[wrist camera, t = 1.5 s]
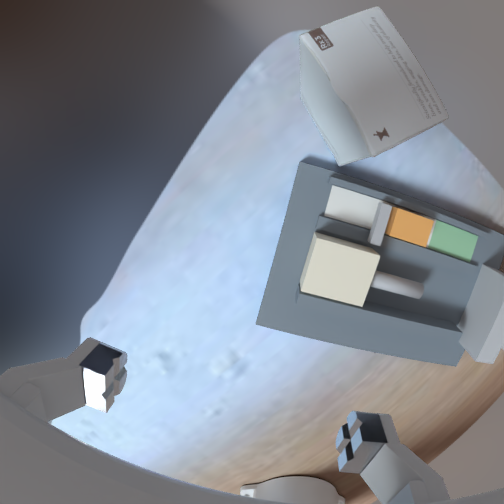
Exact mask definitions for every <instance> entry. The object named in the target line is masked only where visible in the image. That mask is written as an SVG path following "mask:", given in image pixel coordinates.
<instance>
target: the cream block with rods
mask: <svg viewBox="0 0 504 504" xmlns="http://www.w3.org/2000/svg"><path fill="white" fill-rule="evenodd" d="M391 209H392V206H390V205H387V204H384V203H381V202H379V203H378V207H377V210H376V214H375V217H374V220H373V224H372V227H371V230H370V234H369V237H368V240H367V241H368V242H370V243H371V244H374V245H378V246H380V245H381V242H382V239H383V236H384V233H385V229H386V226H387V223H388V219H389V216H390V213H391ZM379 259H380V255H379V254H378V253H377V252H376V251H375V250H374V249H373V248H370V247H366V246H363V245H359V244H356V243H353V242H349V241H346V240H342V239H339V238H335V237H332V236H328V235H324V234H321V233H317V232H314V235H313V238H312V242H311V245H310V248H309V252H308V255H307V259H306V262H305V265H304V269H303V272H302V275H301V278H300V287H301V291H302V292H306V293H310V294H314V295H318V296H322V297H325V298H329V299H333V300H337V301H341V302H345V303H349V304H353V305H357V306H361V307H362V306H363V304H364V301H365V298H366V296H367V293H368V290H369V287H370V286H371V287H375V288H379V289H382V290H386V291H390V292H394V293H397V294H401V295H405V296H409V297H413V298H416V299H420V298H421V296H422V295H423V292H424V285H423V284H422V283H419V282H416V281H412V280H409V279H405V278H401V277H398V276H394V275H391V274H387V273H384V272H380V271H377V270H376V268H377V265H378V262H379Z"/></svg>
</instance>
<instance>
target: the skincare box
mask: <svg viewBox="0 0 504 504" xmlns="http://www.w3.org/2000/svg"><path fill="white" fill-rule="evenodd" d="M299 48H300V85H301V97H300V98H301V100H302V102H303V104H304V106H305V108H306V109H307V111H308V113H309V115H310V116H311V118H312V120H313V122H314V123H315V125H316V127H317V128H318V130H319V132H320V134H321V135H322V137H323V139H324V141H325V142H326V144H327V146H328V147H329V149H330V150H331V152H332V154H333V156H334V158H335V160H336V162H337V164H338V166H343V165H346V164H349V163H352V162H355V161H358V160H362V159H365V158H368V157H375V156H377V155H379V154H381V153H383V152H385V151H387V150H389V149H391V148H393V147H395V146H397V145H399V144H401V143H403V142H405V141H407V140H409V139H411V138H413V137H415V136H416V135H418V134H420V133H422V132H424V131H426V130H428V129H430V128H432V127H434V126H436V125H437V124H439V123H441V122H443V121H444V120H446V119H448V118H449V115H448V113H447V112H446V109H445V107H444V105H443V104H442V102H441V100H440V98H439V96H438V94H437V92H436V91H435V89H434V87H433V85H432V84H431V82H430V80H429V78H428V77H427V75H426V73H425V72H424V70H423V68H422V67H421V65H420V64H419V62H418V60H417V59H416V57H415V56H414V54H413V53H412V51H411V50H410V48H409V47H408V45H407V44H406V42H405V41H404V39H403V38H402V37H401V35H400V34H399V33H398V31H397V30H396V28H395V27H394V25H393V24H392V23H391V21H390V20H389V19H388V18H387V16H386V15H385V14H384V13H383V11H382V10H381V9H380V7H374V8H370V9H367V10H364V11H361V12H358V13H355V14H353V15H350V16H347V17H345V18H342V19H339V20H337V21H334V22H332V23H329V24H326V25H324V26H321V27H319V28H316V29H314V30H311V31H309V32H306V33H303V34H301V35H299Z"/></svg>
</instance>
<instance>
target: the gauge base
mask: <svg viewBox="0 0 504 504" xmlns="http://www.w3.org/2000/svg"><path fill="white" fill-rule="evenodd" d="M379 202H381V203H384V204H387V205H390V206H393V207H396V208H399V209H402V210H405V211H408V212H411V213H413V214H416V215H419V216H422V217H425V218H427V219H430V220H433V221H434V223H433V226H432V229H431V233H430V236H429V239H428V242H427V245H426V247H423V246H420V245H417V244H414V243H411V242H408V241H405V240H402V239H399V238H396V237H392V236H389V235H388V234H386V233H384V236H383V239H382V242H381V245H380V246H378V245H374V244H371V243H370V242H368V241H367V240H368V237H369V234H370V230H371V227H372V224H373V220H374V217H375V214H376V210H377V207H378V203H379ZM314 232H317V233H321V234H324V235H328V236H332V237H335V238H339V239H342V240H346V241H349V242H353V243H356V244H359V245H363V246H366V247H370V248H373V249H374V250H375V251H376V252H377V253H378V254H379V255H380V259H379V262H378V265H377V268H376V270H377V271H380V272H384V273H387V274H391V275H394V276H398V277H401V278H405V279H409V280H412V281H416V282H419V283H422V284H423V285H424V292H423V295H422V296H421V298H420V299H416V298H413V297H409V296H405V295H401V294H397V293H394V292H390V291H386V290H382V289H379V288H375V287H371V286H370V287H369V290H368V293H367V296H366V298H365V301H364V304H363V306H362V307H361V306H357V305H353V304H349V303H345V302H341V301H337V300H333V299H329V298H325V297H322V296H318V295H314V294H310V293H306V292H302V291H301V287H300V278H301V275H302V272H303V269H304V265H305V262H306V259H307V255H308V252H309V248H310V245H311V242H312V238H313V235H314ZM503 257H504V235H503V234H500V233H498V232H496V231H494V230H492V229H489V228H487V227H485V226H483V225H480V224H478V223H476V222H473V221H471V220H469V219H466V218H464V217H462V216H459V215H457V214H454V213H452V212H449V211H447V210H445V209H442V208H439V207H437V206H434V205H432V204H429V203H427V202H424V201H421V200H419V199H416V198H413V197H410V196H408V195H405V194H402V193H399V192H396V191H394V190H391V189H388V188H385V187H382V186H379V185H376V184H373V183H370V182H367V181H364V180H361V179H357V178H354V177H351V176H348V175H345V174H341V173H338V172H335V171H331V170H328V169H324V168H321V167H317V166H314V165H310V164H307V163H303V162H299V166H298V170H297V174H296V177H295V181H294V185H293V189H292V193H291V197H290V200H289V204H288V208H287V212H286V216H285V219H284V223H283V227H282V230H281V234H280V238H279V242H278V245H277V249H276V253H275V256H274V260H273V264H272V267H271V271H270V274H269V278H268V282H267V285H266V289H265V292H264V296H263V299H262V303H261V307H260V310H259V314H258V317H257V321H256V325H260V326H264V327H267V328H271V329H275V330H279V331H283V332H287V333H291V334H295V335H299V336H303V337H308V338H312V339H316V340H320V341H325V342H329V343H333V344H338V345H342V346H347V347H352V348H356V349H361V350H366V351H371V352H376V353H381V354H386V355H391V356H397V357H402V358H407V359H413V360H419V361H425V362H431V363H437V364H443V365H450V366H457V364H458V362H459V360H460V358H461V356H462V354H463V353H464V351H465V350H466V351H467V352H468V353H469V354H470V356H471V357H472V358H473V359H474V360H475V361H476V362H483V363H490V364H493V363H494V361H495V359H496V357H497V355H498V353H499V351H500V350H501V348H502V346H503V344H504V273H503V272H501V271H499V269H500V266H501V263H502V260H503Z"/></svg>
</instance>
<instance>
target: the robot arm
mask: <svg viewBox="0 0 504 504" xmlns="http://www.w3.org/2000/svg"><path fill="white" fill-rule="evenodd" d="M126 362H127V353H126V352H124V351H122V350H119V349H117V348H114V347H112V346H110V345H107V344H105V343H103V342H100V341H98V340H95V339H93V338H91V337H90V338H87V339H86V340H85V341H84V342H83V343H82V344H81V345H80V346H79V347H78V348H77V349H76V350H75V351H74V352H72V354H70V355H69V356H68V357H67V358H66V359H65V358H58V359H53V360H48V361H44V362H39V363H34V364H29V365H24V366H19V367H14V368H9V369H8V370H7V371H6V372H5V373H4V374H2V375H1V376H0V504H345V498H343V497H342V496H340V495H338V493H337V491H336V489H335V487H334V486H333V485H332V484H330V483H329V482H327V481H324V480H321V479H318V478H313V477H304V476H291V477H281V478H276V479H272V480H269V481H266V482H263V483H260V484H254V485H245V486H242V487H241V488H240V495H236V494H232V493H227V492H223V491H218V490H214V489H210V488H206V487H202V486H199V485H195V484H191V483H188V482H184V481H181V480H178V479H175V478H171V477H168V476H165V475H162V474H159V473H156V472H153V471H151V470H148V469H145V468H142V467H140V466H137V465H135V464H132V463H129V462H127V461H125V460H122V459H120V458H117V457H115V456H113V455H110V454H108V453H106V452H104V451H101V450H99V449H97V448H95V447H93V446H91V445H89V444H87V443H84V442H82V441H80V440H78V439H77V438H75V437H73V436H71V435H69V434H67V433H65V432H63V431H61V430H60V429H58V428H56V427H54V426H52V425H51V424H49V423H48V421H50V420H53V419H55V418H57V417H60V416H62V415H64V414H67V413H69V412H71V411H74V410H76V409H78V408H81V407H83V406H85V404H86V405H88V406H91V407H93V408H95V409H98V410H100V411H102V412H105V413H107V412H108V410H109V409H110V407H111V406H112V404H113V403H114V396H115V395H118V394H120V392H121V391H122V389H123V387H124V384H125V382H126V376H127V371H126V369H125V367H124V365H125V364H126ZM347 422H348V423H346V424H345V425H343V426H342V427H341V428H340V430H339V432H338V435H337V438H336V449H337V450H338V452H339V453H340V456H339V457H338V465H339V472H347V473H359V474H360V475H361V477H362V478H363V479H364V481H365V482H366V483H367V485H368V486H369V487H370V489H371V490H372V491H373V493H374V494H375V495H376V497H377V498H378V499H379V500H380V502H381V503H382V504H504V488H500V489H497V490H493V491H490V492H485V493H481V494H477V495H472V496H467V497H462V498H457V499H451V500H450V497H449V494H448V491H447V489H446V486H445V483H444V480H443V478H442V477H441V476H440V475H439V474H438V473H436V472H435V471H434V470H433V469H432V468H431V467H429V466H428V465H427V464H426V463H425V462H424V461H422V460H421V459H420V458H419V457H418V456H417V455H416V454H414V453H413V452H412V451H411V450H410V449H409V448H408V447H406V446H405V445H404V444H400V441H399V438H398V435H397V432H396V429H395V426H394V423H393V421H392V418H391V416H390V415H389V414H379V413H377V414H376V413H367V412H359V411H352V412H351V413H350V414H349V415H348V417H347Z"/></svg>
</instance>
